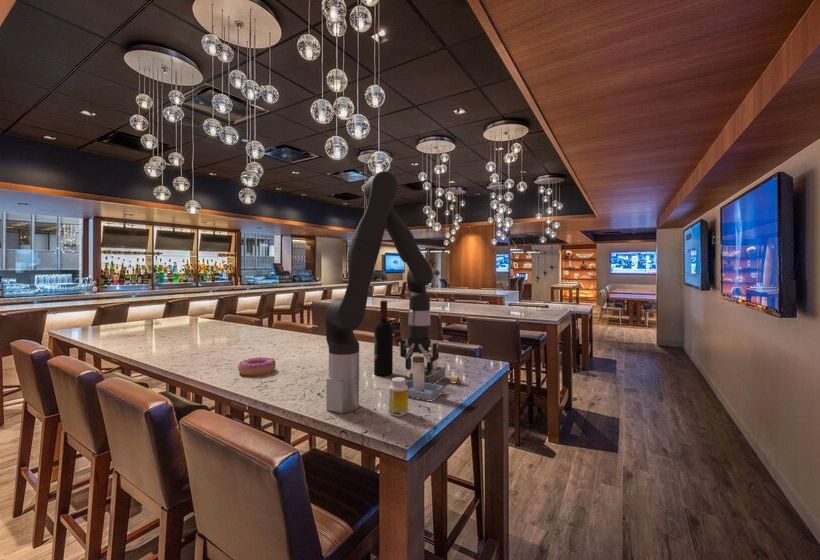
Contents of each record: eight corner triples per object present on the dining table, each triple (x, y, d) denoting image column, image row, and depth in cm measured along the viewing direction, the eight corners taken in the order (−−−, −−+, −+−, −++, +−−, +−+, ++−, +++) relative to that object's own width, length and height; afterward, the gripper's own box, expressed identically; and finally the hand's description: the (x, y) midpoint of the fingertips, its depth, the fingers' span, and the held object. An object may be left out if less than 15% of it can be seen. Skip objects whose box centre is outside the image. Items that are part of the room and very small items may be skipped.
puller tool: (457, 383, 136) (457, 380, 136) (450, 383, 136) (450, 379, 136) (457, 377, 144) (457, 374, 144) (451, 377, 144) (451, 373, 144)
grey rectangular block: (429, 387, 131) (429, 376, 131) (409, 384, 134) (409, 373, 134) (445, 377, 144) (445, 367, 144) (427, 374, 148) (427, 365, 148)
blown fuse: (421, 394, 122) (421, 359, 121) (410, 393, 123) (410, 358, 123) (426, 391, 125) (426, 356, 125) (416, 389, 127) (415, 355, 127)
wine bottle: (384, 377, 143) (384, 302, 142) (370, 374, 147) (370, 301, 147) (396, 373, 149) (396, 300, 148) (382, 370, 153) (383, 300, 153)
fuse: (434, 380, 140) (435, 349, 140) (425, 378, 142) (425, 348, 142) (439, 377, 143) (439, 347, 143) (429, 376, 145) (430, 346, 145)
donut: (252, 379, 140) (252, 366, 140) (230, 373, 147) (230, 361, 147) (283, 371, 152) (283, 359, 152) (261, 366, 160) (261, 354, 160)
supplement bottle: (411, 413, 107) (411, 379, 107) (398, 418, 103) (398, 383, 103) (398, 408, 111) (398, 375, 110) (384, 413, 107) (385, 379, 106)
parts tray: (443, 392, 125) (443, 385, 125) (431, 401, 117) (431, 394, 116) (407, 386, 132) (407, 379, 132) (393, 394, 123) (393, 387, 123)
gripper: (395, 323, 124) (395, 371, 124) (434, 326, 117) (433, 376, 117) (406, 320, 130) (405, 366, 131) (443, 323, 124) (442, 371, 124)
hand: (418, 371), depth 124 cm, fingers open, 7 cm apart
